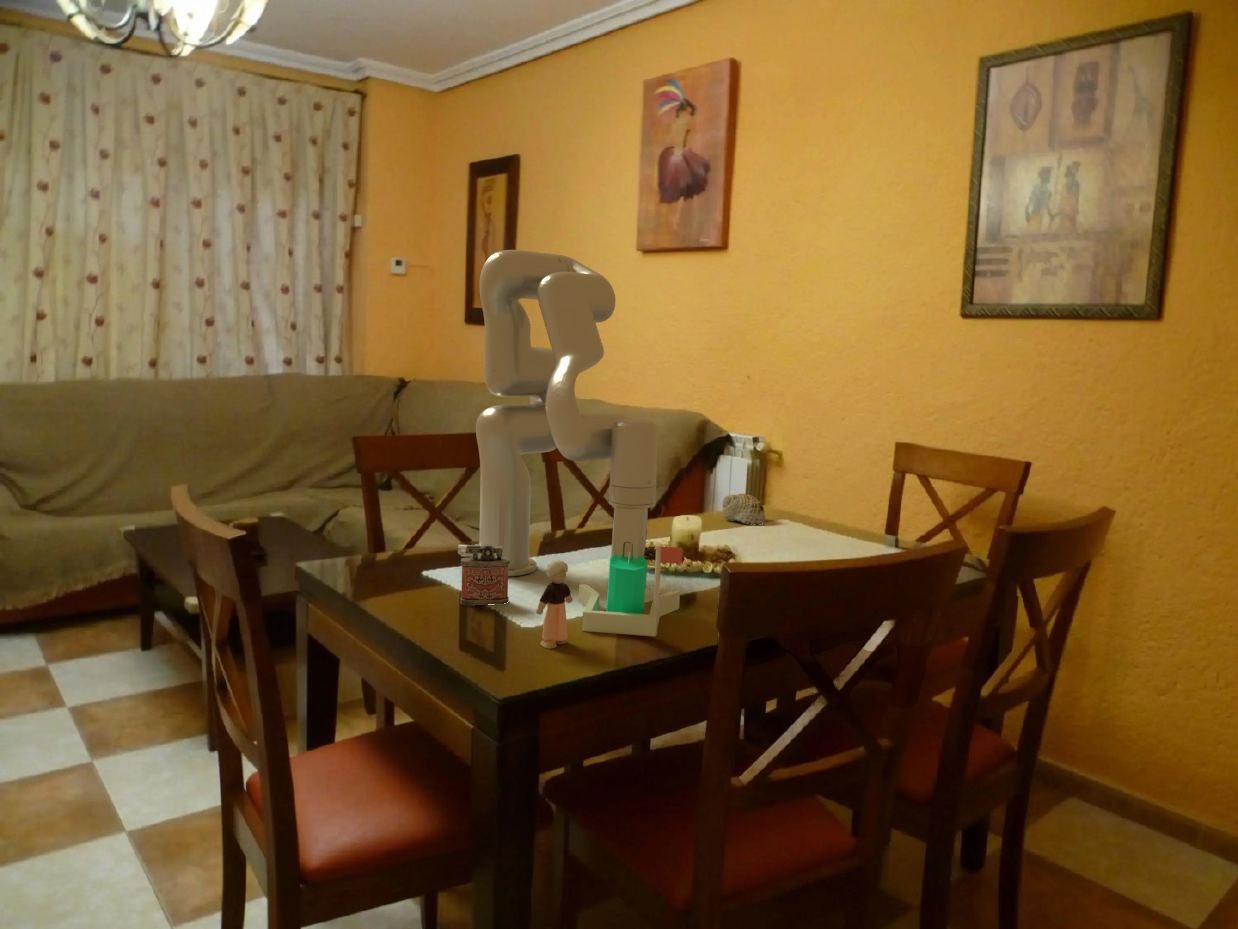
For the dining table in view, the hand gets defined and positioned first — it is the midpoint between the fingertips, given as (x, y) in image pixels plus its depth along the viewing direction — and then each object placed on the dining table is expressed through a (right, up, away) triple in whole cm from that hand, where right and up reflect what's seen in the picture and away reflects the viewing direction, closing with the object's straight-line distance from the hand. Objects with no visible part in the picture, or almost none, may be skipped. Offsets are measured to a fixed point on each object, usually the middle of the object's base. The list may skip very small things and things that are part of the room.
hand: (628, 605), depth 149 cm
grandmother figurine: (-11, -4, -15) cm, 19 cm away
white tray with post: (0, -2, -2) cm, 3 cm away
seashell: (+30, +8, +80) cm, 85 cm away
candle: (-1, -2, -4) cm, 4 cm away
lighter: (-24, 0, +4) cm, 24 cm away
